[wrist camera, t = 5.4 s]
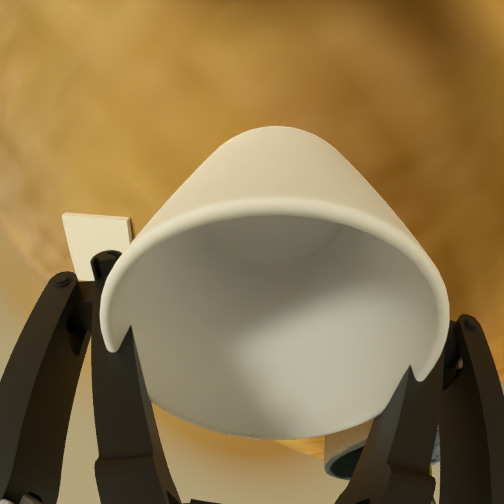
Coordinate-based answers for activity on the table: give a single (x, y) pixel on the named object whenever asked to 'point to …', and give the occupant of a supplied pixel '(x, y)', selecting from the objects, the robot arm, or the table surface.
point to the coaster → (94, 238)
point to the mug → (276, 293)
